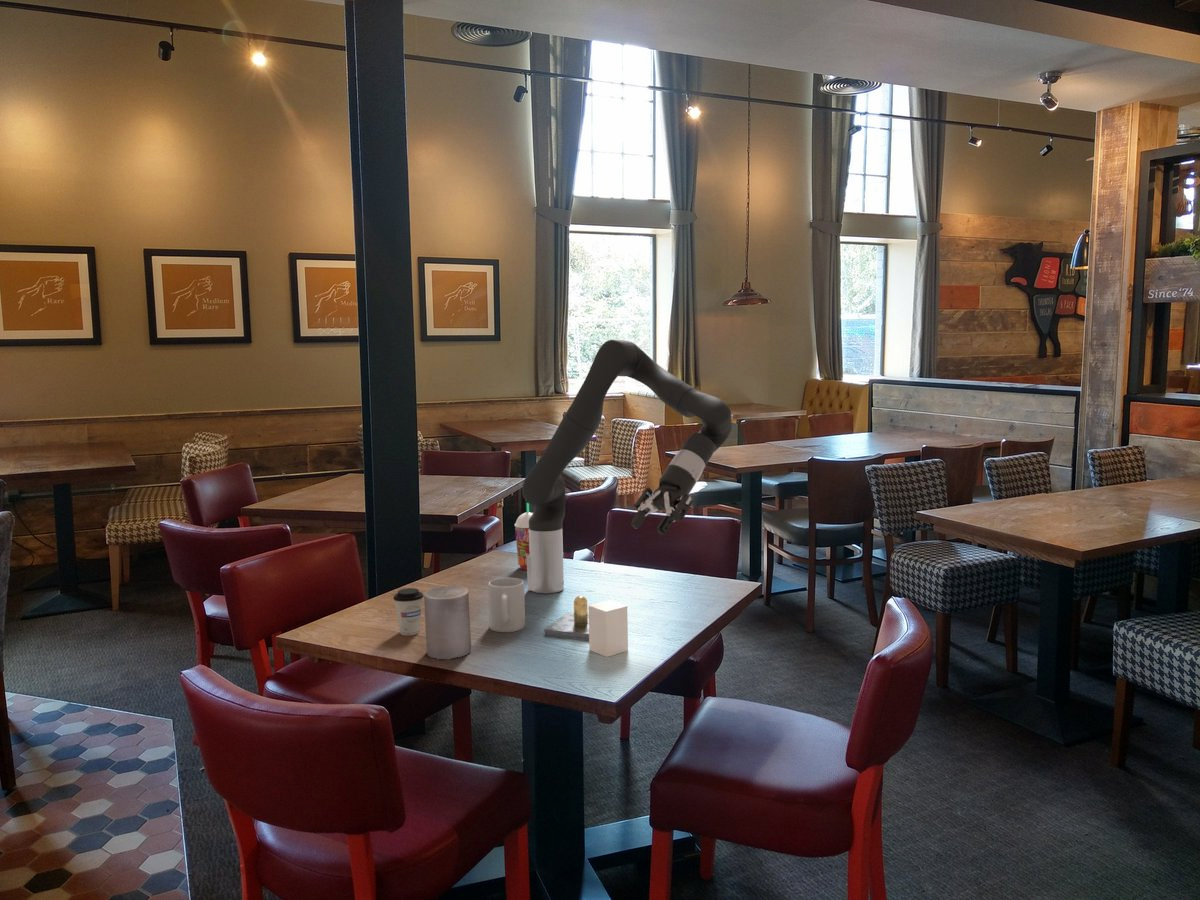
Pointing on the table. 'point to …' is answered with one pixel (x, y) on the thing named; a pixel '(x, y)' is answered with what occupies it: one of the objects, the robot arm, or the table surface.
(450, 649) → the pillar candle
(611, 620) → the white rectangular block
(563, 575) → the robot arm
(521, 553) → the smoothie
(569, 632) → the base plate
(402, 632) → the coffee cup
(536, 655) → the table surface
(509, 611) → the mug
